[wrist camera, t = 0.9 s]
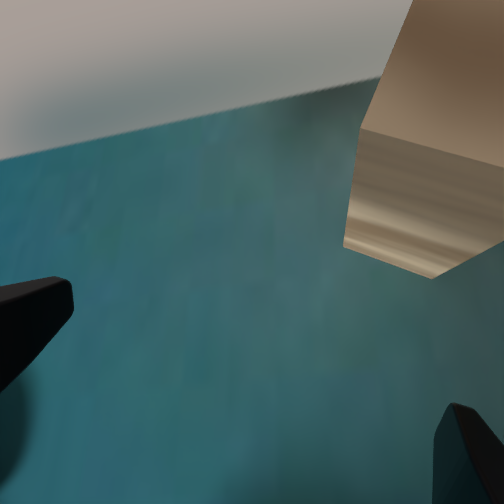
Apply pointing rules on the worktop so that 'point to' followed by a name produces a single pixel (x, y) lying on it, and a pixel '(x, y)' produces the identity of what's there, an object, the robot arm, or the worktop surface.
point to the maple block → (434, 142)
